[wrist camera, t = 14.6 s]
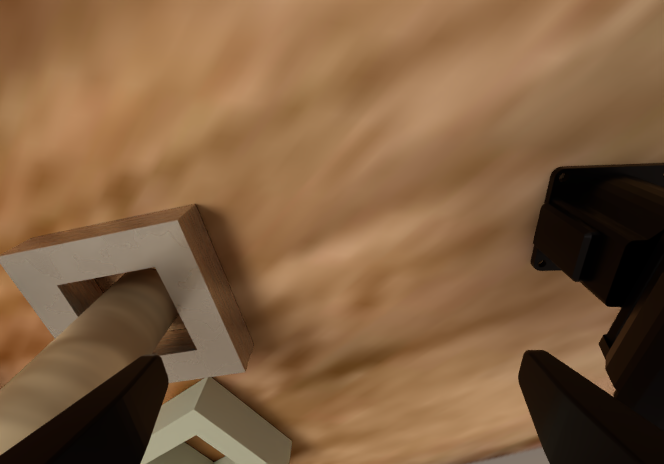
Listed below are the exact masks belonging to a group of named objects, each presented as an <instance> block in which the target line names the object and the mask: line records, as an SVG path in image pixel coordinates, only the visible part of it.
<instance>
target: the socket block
mask: <svg viewBox="0 0 664 464" xmlns="http://www.w3.org/2000/svg"><path fill="white" fill-rule="evenodd" d="M0 264H1V265H2V267H3V268H4V269H5V271H6V272H7V273H8V275H9V276H10V278H11V279H12V280H13V282H14V283H15V284H16V286H17V287H18V289H19V290H20V291H21V293H22V294H23V295H24V297H25V298H26V300H27V301H28V302H29V304H30V305H31V306H32V308H33V309H34V311H35V312H36V313H37V315H38V316H39V317H40V319H41V320H42V322H43V323H44V324H45V326H46V327H47V328H48V330H49V331H50V333H51V334H52V335H53V337H54V338H56V337H57V336H58V335H60V334H61V333H62V332H63V331H64V330H65V329H66V328H67V327H68V326H69V325H70V324H71V323H72V322H74V321H75V320H76V319H77V318H78V317H79V316H80V315H81V314H82V313H83V312H84V311H85V310H86V309H87V308H89V307H90V306H91V305H92V304H93V303H94V302H95V301H96V300H97V299H98V298H99V297H100V296H101V295H103V293H102V291H101V289H100V288H99V286H98V285H97V283H96V281H95V280H94V278H99V277H104V276H109V275H115V274H120V273H125V272H131V271H136V270H141V269H147V268H152V267H155V268H156V270H157V272H158V274H159V276H160V278H161V280H162V282H163V284H164V285H165V287H166V289H167V291H168V293H169V295H170V297H171V299H172V301H173V303H174V305H175V307H176V309H177V311H178V313H179V315H180V317H181V319H182V321H183V323H184V325H185V327H186V329H180V330H174V331H168V332H166V333H165V335H164V336H163V337H162V339H161V340H160V342H159V343H158V345H157V346H156V348H155V349H154V351H153V352H152V354H151V355H159V356H160V357H161V358H162V361H163V363H164V366H165V369H166V372H167V375H168V380H169V383H172V382H179V381H186V380H193V379H200V378H207V377H214V376H221V375H228V374H235V373H242V372H246V369H247V366H248V362H249V359H250V356H251V353H252V350H253V347H254V344H253V342H252V339H251V337H250V334H249V332H248V330H247V327H246V325H245V322H244V320H243V318H242V315H241V313H240V310H239V308H238V305H237V303H236V301H235V298H234V296H233V293H232V291H231V289H230V286H229V284H228V281H227V279H226V277H225V274H224V272H223V269H222V267H221V264H220V262H219V260H218V257H217V255H216V252H215V250H214V248H213V245H212V243H211V240H210V238H209V236H208V233H207V231H206V228H205V226H204V223H203V221H202V219H201V216H200V214H199V211H198V209H197V207H196V204H193V205H188V206H183V207H178V208H174V209H169V210H164V211H159V212H154V213H150V214H145V215H140V216H135V217H130V218H126V219H121V220H116V221H111V222H106V223H102V224H97V225H92V226H87V227H82V228H78V229H73V230H68V231H63V232H58V233H54V234H49V235H44V236H39V237H34V238H31V239H29V240H27V241H25V242H23V243H21V244H19V245H17V246H16V247H14V248H12V249H10V250H8V251H6V252H4V253H3V254H1V255H0Z"/></svg>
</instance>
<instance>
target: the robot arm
mask: <svg viewBox="0 0 664 464" xmlns="http://www.w3.org/2000/svg"><path fill="white" fill-rule="evenodd" d="M563 173H565V175H564V177H563V178H562V179H560V180H559V177H560V175H561V174H563ZM663 174H664V163H653V164H624V165H595V166H566V167H558V168H556V169H555V170H554V171H553V172H552V174H551V176H550V181H549V185H548V189H547V193H546V198H545V202H544V204H543V205H542V207H541V210H540V215H539V219H538V223H537V228H536V232H535V236H534V241H533V244H534V249H533V253H532V257H531V265H532V266H533V267H534V268H535V269H536V270H539V271H550V270H562V271H563V272H564V273H565V274H566V275H568V276H569V277H570V278H571V279H572V280H573V281H575V282H581V283H582V284H583V285H584V286H585V287H586V288H587V289H588V290H590V291H591V292H592V293H593V294H594V295H595V296H596V297H597V298H598V299H600V300H601V301H602V302H603V303H604V304H605V305H606V306H608V307H621V310H620V312H619V313H618V315H617V317H616V319H615V321H614V322H613V324H612V326H611V328H610V330H609V331H608V333H607V334H604V335H603V337H602V338H601V340H600V342H599V346H600V348H601V350H602V353H603V355H604V357H605V359H606V366H605V369H606V371H607V373H608V376H609V378H610V380H611V382H612V384H613V386H614V388H615V389H616V390H615V392H614V394H613V396H614V397H613V396H611V395H610V394H608V393H607V392H605V391H604V390H602V389H601V388H599V387H598V386H597V385H595V384H594V383H592V382H591V381H589V380H588V379H586V378H585V377H583V376H582V375H580V374H579V373H577V372H576V371H574V370H573V369H571V368H570V367H569V366H567V365H566V364H564V363H563V362H561V361H560V360H558V359H557V358H555V357H554V356H552V355H551V354H549V353H548V352H546V351H544V350H527V351H526V352H525V353H524V355H523V359H522V362H521V366H520V370H519V375H518V380H519V385H520V388H521V390H522V393H523V396H524V398H525V401H526V404H527V407H528V409H529V412H530V415H531V418H532V420H533V423H534V426H535V429H536V431H537V434H538V437H539V439H540V442H541V445H542V447H543V450H544V452H545V454H546V456H547V458H548V461H549V463H550V464H664V176H663ZM542 260H543V262H542V263H540V264H538V263H539V262H540V261H542ZM168 383H169V380H168V375H167V372H166V369H165V366H164V363H163V361H162V358H161V357H160V356H159V355H142V356H140V357H139V358H137V359H136V360H134V361H133V362H132V363H130V364H129V365H127V366H126V367H125V368H123V369H122V370H120V371H119V372H118V373H116V374H115V375H113V376H112V377H110V378H109V379H108V380H106V381H105V382H103V383H102V384H101V385H99V386H98V387H96V388H95V389H93V390H92V391H91V392H89V393H88V394H86V395H85V396H84V397H82V398H81V399H79V400H78V401H76V402H75V403H74V404H72V405H71V406H69V407H68V408H67V409H65V410H64V411H62V412H61V413H59V414H58V415H57V416H55V417H54V418H52V419H51V420H50V421H48V422H47V423H45V424H44V425H42V426H41V427H40V428H38V429H37V430H35V431H34V432H33V433H31V434H30V435H28V436H27V437H25V438H24V439H23V440H21V441H20V442H18V443H17V444H16V445H14V446H13V447H11V448H10V449H8V450H7V451H6V452H4V453H3V454H1V455H0V464H140V463H141V461H142V459H143V456H144V454H145V452H146V449H147V446H148V444H149V441H150V438H151V435H152V432H153V429H154V426H155V424H156V421H157V418H158V415H159V412H160V409H161V406H162V403H163V400H164V397H165V394H166V391H167V388H168Z"/></svg>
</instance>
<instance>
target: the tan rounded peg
mask: <svg viewBox="0 0 664 464" xmlns="http://www.w3.org/2000/svg"><path fill="white" fill-rule="evenodd" d="M178 314H179V313H178V311H177V309H176V307H175V305H174V303H173V301H172V299H171V297H170V295H169V293H168V291H167V289H166V287H165V285H164V284H163V282H162V280H161V278H160V276H159V274H158V272H157V270H154V269H149V268H147V269H141V270H136V271H131V272H127V273H125V274H124V275H123V276H122V277H121V278H120V279H119V280H118V281H117V282H115V283H114V284H113V285H112V286H111V287H110V288H109V289H108V290H107V291H106V292H105V293H104V294H103V295H101V296H100V297H99V298H98V299H97V300H96V301H95V302H94V303H93V304H92V305H91V306H90V307H89V308H87V309H86V310H85V311H84V312H83V313H82V314H81V315H80V316H79V317H78V318H77V319H76V320H75V321H74V322H72V323H71V324H70V325H69V326H68V327H67V328H66V329H65V330H64V331H63V332H62V333H61V334H60V335H58V336H57V337H56V338H55V339H54V340H53V341H52V342H51V343H50V344H49V345H48V346H47V347H46V348H44V349H43V350H42V351H41V352H40V353H39V354H38V355H37V356H36V357H35V358H34V359H33V360H32V361H31V362H29V363H28V364H27V365H26V366H25V367H24V368H23V369H22V370H21V371H20V372H19V373H18V374H17V375H15V376H14V377H13V378H12V379H11V380H10V381H9V382H8V383H7V384H6V385H5V386H4V387H3V388H1V389H0V455H1V454H3V453H4V452H6V451H7V450H8V449H10V448H11V447H13V446H14V445H16V444H17V443H18V442H20V441H21V440H23V439H24V438H25V437H27V436H28V435H30V434H31V433H33V432H34V431H35V430H37V429H38V428H40V427H41V426H42V425H44V424H45V423H47V422H48V421H50V420H51V419H52V418H54V417H55V416H57V415H58V414H59V413H61V412H62V411H64V410H65V409H67V408H68V407H69V406H71V405H72V404H74V403H75V402H76V401H78V400H79V399H81V398H82V397H84V396H85V395H86V394H88V393H89V392H91V391H92V390H93V389H95V388H96V387H98V386H99V385H101V384H102V383H103V382H105V381H106V380H108V379H109V378H110V377H112V376H113V375H115V374H116V373H118V372H119V371H120V370H122V369H123V368H125V367H126V366H127V365H129V364H130V363H132V362H133V361H134V360H136V359H137V358H139V357H140V356H142V355H151V354H152V352H153V351H154V349H155V348H156V346H157V345H158V343H159V342H160V340H161V339H162V337H163V336H164V335H165V333H166V332H167V330H168V329H169V327H170V326H171V324H172V323H173V321H174V320H175V318H176V317H177V315H178Z"/></svg>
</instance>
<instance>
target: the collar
mask: <svg viewBox="0 0 664 464" xmlns="http://www.w3.org/2000/svg"><path fill="white" fill-rule="evenodd" d="M195 435H197V436H198V437H200V438H201V439H203V440H204V441H205V442H207V443H208V444H210V445H211V446H213V447H214V448H215V449H217V450H218V451H220V452H221V453H222V454H224V455H225V457H223V458H221V459H219V460H218V461H216V462H213V461H211V460H210V459H208V458H207V457H205V456H204V455H202V454H201V453H199V452H198V451H197V450H195V449H194V448H192V447H191V446H189V445H188V444H186V443H185V441H186V440H188V439H190V438H192V437H193V436H195ZM291 447H292V441H291V440H290V439H289V438H287V437H286V436H285V435H284V434H282V433H281V432H280V431H279V430H277V429H276V428H275V427H274V426H272V425H271V424H270V423H268V422H267V421H266V420H265V419H263V418H262V417H261V416H260V415H258V414H257V413H256V412H255V411H253V410H252V409H251V408H250V407H248V406H247V405H246V404H244V403H243V402H242V401H241V400H239V399H238V398H237V397H236V396H234V395H233V394H232V393H231V392H229V391H228V390H227V389H225V388H224V387H223V386H222V385H220V384H219V383H218V382H217V381H215V380H214V379H213V378H212V377H207V378H204V379H202V380H201V381H199V382H198V383H196V384H195V385H193V386H191V387H190V388H188V389H187V390H185V391H184V392H182V393H180V394H179V395H177V396H176V397H174V398H173V399H171V400H169V401H168V402H166V403H165V404H163V405H162V406H161V409H160V412H159V415H158V418H157V421H156V424H155V426H154V429H153V432H152V435H151V438H150V441H149V444H148V446H147V449H146V452H145V454H144V456H143V459H142V461H141V463H140V464H289V461H290V454H291Z"/></svg>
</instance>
